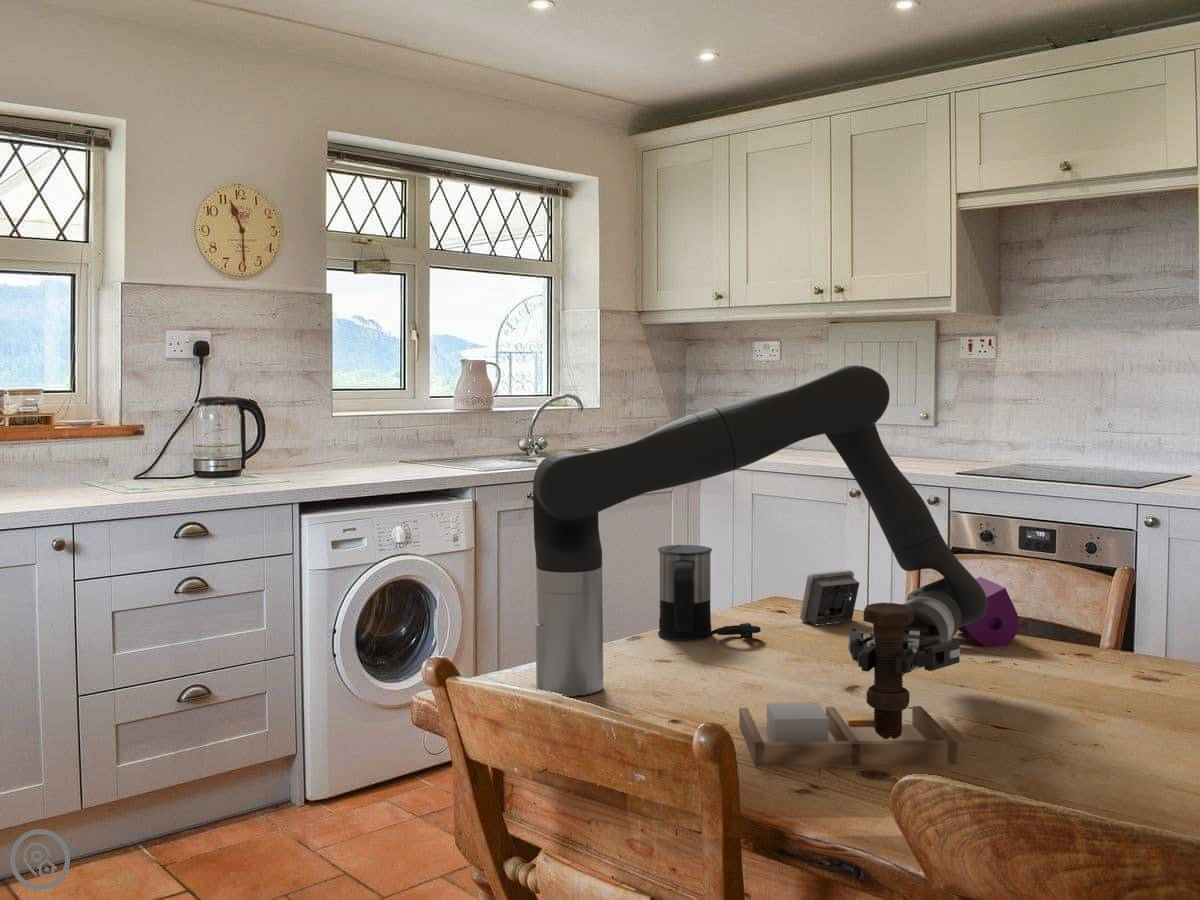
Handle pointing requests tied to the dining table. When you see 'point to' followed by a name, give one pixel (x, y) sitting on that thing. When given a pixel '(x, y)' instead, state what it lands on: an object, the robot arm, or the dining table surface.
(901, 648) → the bolt
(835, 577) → the electrical switch
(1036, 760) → the dining table surface
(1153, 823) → the dining table surface
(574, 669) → the robot arm
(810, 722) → the grey block
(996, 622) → the mounting bracket
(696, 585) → the milk frother
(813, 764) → the tray
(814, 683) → the dining table surface
